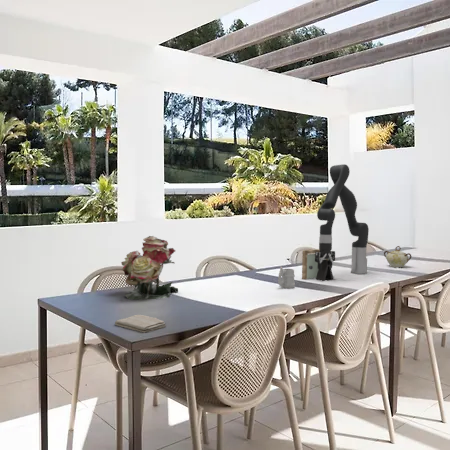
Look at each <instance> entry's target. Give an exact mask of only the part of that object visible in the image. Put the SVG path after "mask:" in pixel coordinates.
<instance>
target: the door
mask: <svg viewBox="0 0 450 450" xmlns="http://www.w3.org/2000/svg"><path fill="white" fill-rule="evenodd" d="M319 256H320V255H319ZM324 260H326V259H324ZM318 270H319V269H318V263H317V262H315V253H311V254H307V279H306V280H309V279H316V277H317V273H318Z"/></svg>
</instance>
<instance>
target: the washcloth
mask: <svg viewBox="0 0 450 450" xmlns="http://www.w3.org/2000/svg"><path fill="white" fill-rule="evenodd" d="M114 325H115V326H118V327H121V328H125V329H129V330H133V331H136V332H140V333H149V332H150V333H151V332H153V331H156V330H160V329H163V328H166V327H167V325H166V323H165V321H164V320H161V319H158V317H151V316H148V315H142V314H135V315H131V316H129V317H124V318H120V319H117V320H116V321H115V322H114Z"/></svg>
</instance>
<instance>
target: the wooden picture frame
mask: <svg viewBox="0 0 450 450" xmlns="http://www.w3.org/2000/svg"><path fill="white" fill-rule="evenodd" d="M315 252H320V249H319V248H317V249H303V250H302V257H301V258H302V260H301V261H302V263H301V264H302V266H301V279H302V280H308V279H307V254H315ZM326 260H328V259H326Z"/></svg>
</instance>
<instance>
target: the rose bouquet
mask: <svg viewBox="0 0 450 450" xmlns="http://www.w3.org/2000/svg"><path fill="white" fill-rule="evenodd" d="M143 241H144V242H142V247H141V250H142V254H141V252H139V250H134V251H131V252H129V253H126V257H125V258H124V261H120V263H121V266H123V267H122V271H123V272H124V277H125V280H124V281H125V284H126V285H128V286H130V287H133V286H134V289H133V290H132V291H130V293H126V294H124V296H125V298H127V300H157V299H169V298H170V297H171V292H179V289H178V288H177V287H175V286H172V284H173V281H170V282H168V283H164V284H161V285H160V276H161V273H162V271H163V268H164V265H167V264H175V261H172V260H171V258H172V255H173V254H174V253H176V249H174V248H173V247H170V248H168V246H169V242H168V240H164V239H161V238H158V237H156V236H154V235H152V236H151V235H148V236H147V237H144V238H143ZM126 277H127V278H126ZM154 282H156V284H155V285H153V283H154Z"/></svg>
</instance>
